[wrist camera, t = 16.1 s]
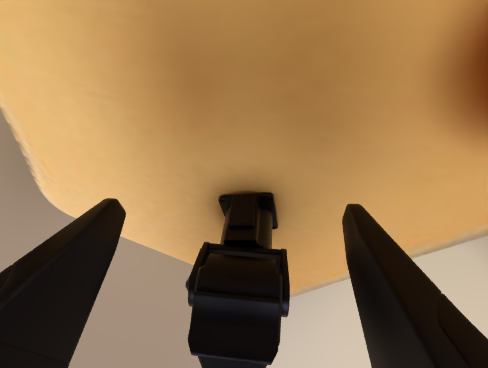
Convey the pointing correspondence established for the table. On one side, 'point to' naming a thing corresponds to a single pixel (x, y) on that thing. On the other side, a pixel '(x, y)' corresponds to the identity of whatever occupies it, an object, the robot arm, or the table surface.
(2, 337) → the robot arm
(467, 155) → the table surface
